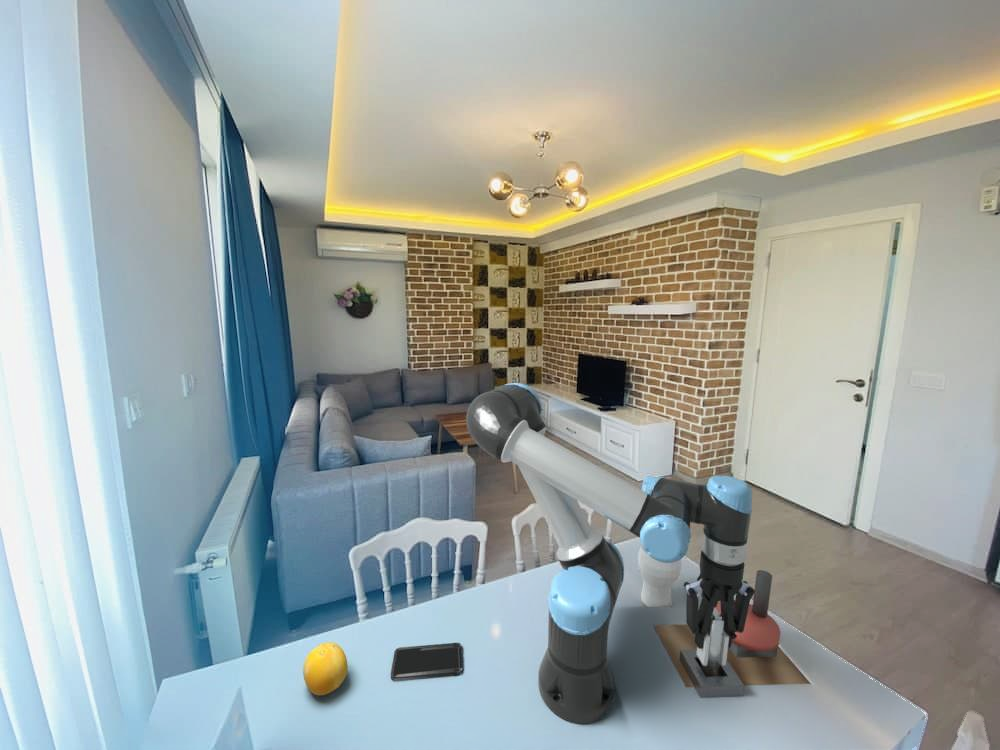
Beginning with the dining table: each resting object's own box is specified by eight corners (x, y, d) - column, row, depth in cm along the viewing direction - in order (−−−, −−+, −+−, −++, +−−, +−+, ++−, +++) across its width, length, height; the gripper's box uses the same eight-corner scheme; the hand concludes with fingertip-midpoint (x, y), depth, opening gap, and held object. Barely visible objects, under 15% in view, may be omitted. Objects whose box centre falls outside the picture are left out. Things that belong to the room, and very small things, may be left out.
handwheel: (700, 617, 95) (705, 571, 93) (736, 600, 101) (741, 556, 99) (755, 660, 84) (762, 608, 82) (792, 638, 89) (799, 589, 87)
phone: (462, 672, 85) (389, 678, 83) (462, 676, 85) (389, 683, 84) (461, 641, 93) (395, 647, 91) (461, 646, 93) (395, 651, 91)
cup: (670, 588, 112) (674, 539, 110) (683, 617, 102) (688, 563, 99) (631, 585, 113) (634, 536, 111) (640, 613, 103) (644, 560, 100)
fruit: (357, 679, 84) (355, 645, 83) (323, 712, 77) (320, 676, 76) (329, 660, 89) (327, 628, 87) (295, 690, 82) (292, 655, 80)
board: (685, 693, 82) (687, 674, 81) (652, 630, 97) (654, 614, 97) (809, 689, 83) (812, 670, 82) (757, 628, 98) (759, 612, 98)
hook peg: (705, 683, 82) (712, 619, 80) (693, 662, 87) (699, 601, 85) (721, 683, 82) (728, 619, 80) (707, 662, 87) (714, 601, 85)
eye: (700, 697, 79) (701, 686, 79) (679, 659, 88) (680, 649, 87) (742, 696, 79) (744, 685, 79) (718, 658, 88) (719, 648, 88)
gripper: (691, 568, 75) (680, 677, 79) (776, 567, 76) (761, 675, 80) (673, 545, 82) (664, 645, 86) (750, 544, 83) (738, 643, 87)
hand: (710, 659), depth 83 cm, fingers closed on hook peg, 3 cm apart
